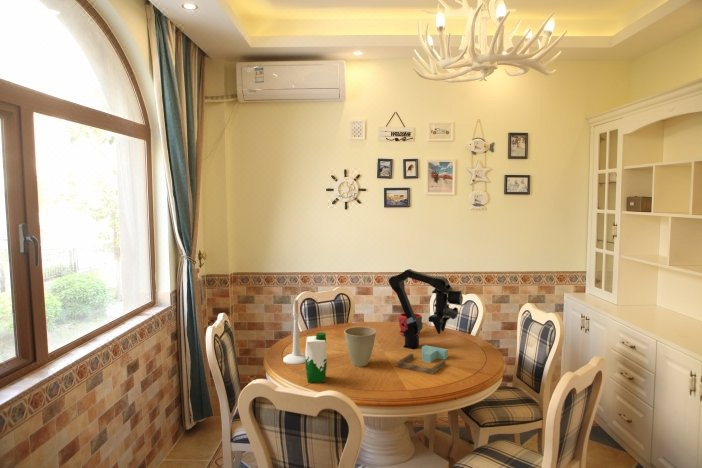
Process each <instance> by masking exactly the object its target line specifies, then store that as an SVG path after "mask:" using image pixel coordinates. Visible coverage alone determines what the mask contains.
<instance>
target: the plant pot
mask: <svg viewBox="0 0 702 468" xmlns="http://www.w3.org/2000/svg"><path fill="white" fill-rule="evenodd" d="M376 332H377V331H376V329H375V328H372V327H368V326H367V327H366V326H352V327H348V328H346V329H345V330H343V333H344V340H345V346H346V349H347V353H348V356H349V359H350V361H351V365H352V366H354V367H358V368H360V367H362V368H363V367H366V366H368V364H369V362H370V360H371V356H372V353H373V350H374V346H375V340H376Z"/></svg>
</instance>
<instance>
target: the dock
mask: <svg viewBox="0 0 702 468" xmlns="http://www.w3.org/2000/svg"><path fill="white" fill-rule="evenodd" d="M413 359H414V353H409V354H408V355H406V356H405V357H403V358H401V359H400V360H398V361H396V367H397V368H398V367H399V368H403V369H405V370H406V369H407V370H412V371H416V372H420V373H425V374H430V375H434V374H435V373H437V372H438V371H439V370H441V369H442V368H444V366H445V365H446V359H445V360H444V359H441V361H438V363H437V364H435V365H434V366H432V367H425V366H423V365H422V366H421V365H417V364H413V363H408V362H410V361H411V360H413Z"/></svg>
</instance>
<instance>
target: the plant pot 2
mask: <svg viewBox="0 0 702 468" xmlns="http://www.w3.org/2000/svg"><path fill="white" fill-rule="evenodd" d="M414 314H415V316H416V317H417V318H418V317H420V319H421V322H422V321H423V319H422V318H423V316H422V314H419V313H416V312H414ZM422 323H423V322H422ZM398 326H399V328H400V330H399V334H400V335H401V336H403V337H405V336H404V332H405V331H406V330H407V329H408V328H407V318H406V315H405V313H404V312H402V313H399V315H398ZM420 334H421V331H420V332H419V334H417V335H418V336H420Z"/></svg>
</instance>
